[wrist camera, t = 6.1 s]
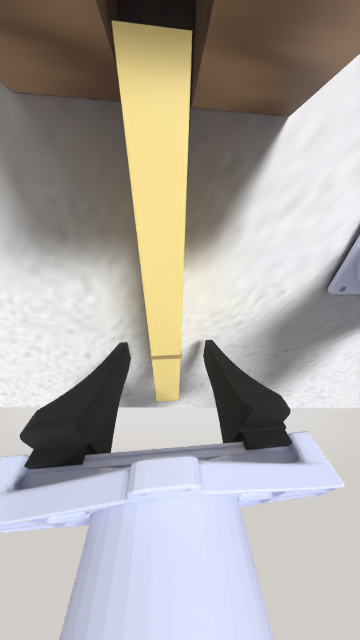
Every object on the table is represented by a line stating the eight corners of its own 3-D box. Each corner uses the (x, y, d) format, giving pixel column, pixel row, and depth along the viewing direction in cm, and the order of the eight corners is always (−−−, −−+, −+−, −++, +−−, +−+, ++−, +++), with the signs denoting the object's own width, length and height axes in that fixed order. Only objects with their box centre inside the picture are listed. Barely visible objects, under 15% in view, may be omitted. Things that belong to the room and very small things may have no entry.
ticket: (178, 148, 8) (194, 30, 3) (175, 347, 15) (179, 400, 11) (144, 146, 7) (109, 19, 3) (159, 347, 15) (156, 401, 10)
